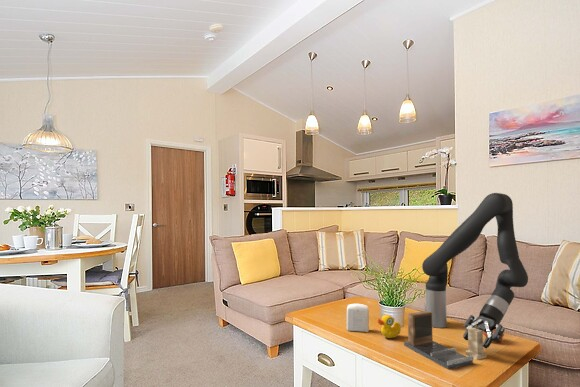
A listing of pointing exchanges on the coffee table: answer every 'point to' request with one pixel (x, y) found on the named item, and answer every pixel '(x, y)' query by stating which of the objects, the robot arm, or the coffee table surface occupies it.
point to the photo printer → (357, 318)
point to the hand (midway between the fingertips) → (474, 343)
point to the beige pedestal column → (475, 343)
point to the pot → (494, 332)
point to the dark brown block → (420, 327)
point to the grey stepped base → (441, 354)
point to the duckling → (389, 326)
